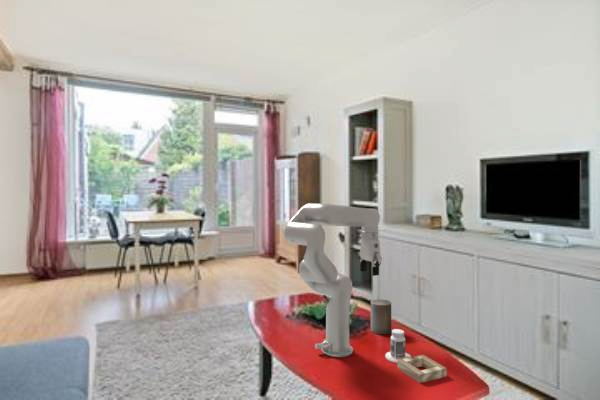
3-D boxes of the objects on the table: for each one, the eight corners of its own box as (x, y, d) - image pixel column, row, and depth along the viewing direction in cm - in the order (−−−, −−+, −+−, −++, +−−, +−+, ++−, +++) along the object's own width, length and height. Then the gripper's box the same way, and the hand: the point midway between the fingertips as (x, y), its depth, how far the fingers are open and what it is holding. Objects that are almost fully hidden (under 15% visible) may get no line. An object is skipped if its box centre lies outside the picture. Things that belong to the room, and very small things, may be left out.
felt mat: (396, 365, 143) (396, 363, 143) (380, 354, 152) (380, 353, 152) (417, 360, 147) (417, 359, 147) (400, 350, 156) (400, 349, 156)
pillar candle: (395, 330, 179) (395, 299, 179) (384, 336, 172) (384, 303, 172) (377, 326, 186) (377, 295, 186) (366, 331, 179) (366, 299, 179)
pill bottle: (407, 355, 151) (407, 330, 151) (402, 360, 146) (403, 335, 146) (392, 351, 154) (393, 327, 154) (388, 357, 149) (388, 332, 149)
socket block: (419, 383, 130) (419, 374, 130) (397, 368, 141) (397, 360, 141) (446, 376, 135) (446, 368, 135) (422, 362, 146) (422, 354, 146)
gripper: (388, 237, 167) (387, 276, 167) (366, 233, 182) (365, 269, 183) (373, 238, 164) (373, 277, 164) (352, 234, 179) (352, 270, 180)
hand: (369, 273), depth 173 cm, fingers open, 9 cm apart
